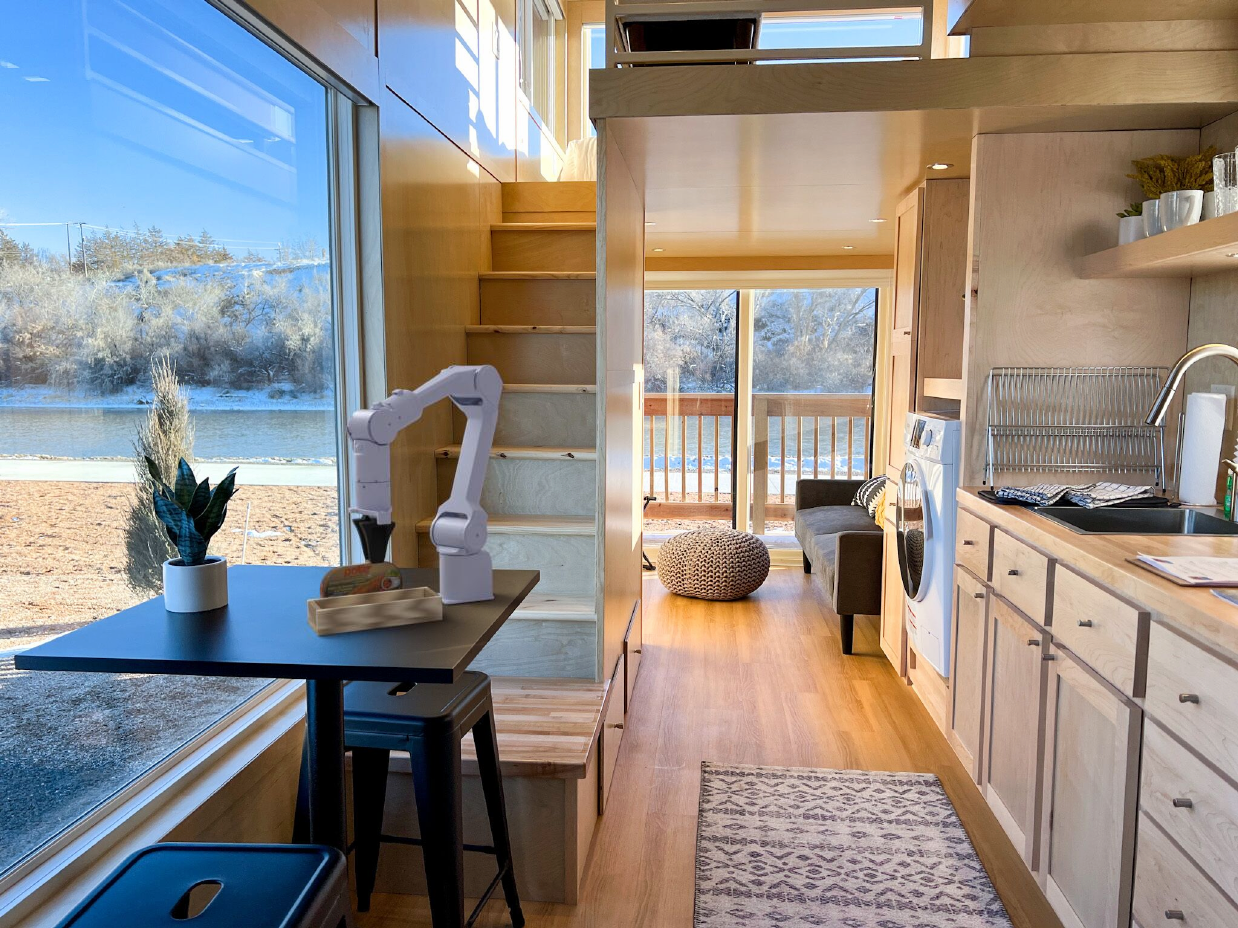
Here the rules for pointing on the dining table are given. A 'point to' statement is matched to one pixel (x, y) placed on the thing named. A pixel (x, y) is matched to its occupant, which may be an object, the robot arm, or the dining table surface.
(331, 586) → the tin
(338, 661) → the dining table surface
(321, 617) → the crate
